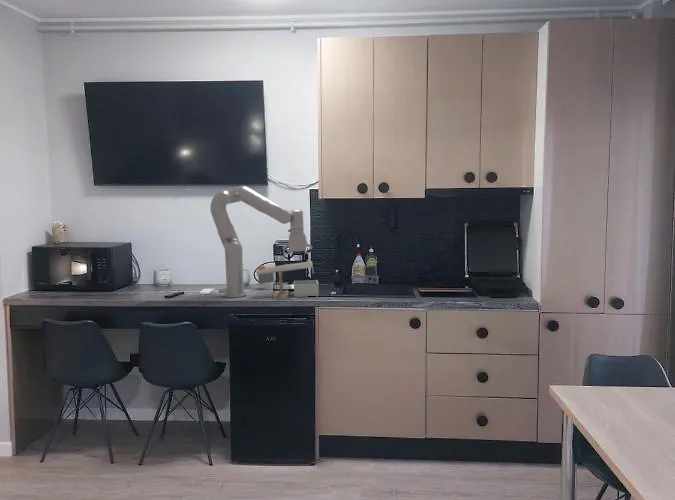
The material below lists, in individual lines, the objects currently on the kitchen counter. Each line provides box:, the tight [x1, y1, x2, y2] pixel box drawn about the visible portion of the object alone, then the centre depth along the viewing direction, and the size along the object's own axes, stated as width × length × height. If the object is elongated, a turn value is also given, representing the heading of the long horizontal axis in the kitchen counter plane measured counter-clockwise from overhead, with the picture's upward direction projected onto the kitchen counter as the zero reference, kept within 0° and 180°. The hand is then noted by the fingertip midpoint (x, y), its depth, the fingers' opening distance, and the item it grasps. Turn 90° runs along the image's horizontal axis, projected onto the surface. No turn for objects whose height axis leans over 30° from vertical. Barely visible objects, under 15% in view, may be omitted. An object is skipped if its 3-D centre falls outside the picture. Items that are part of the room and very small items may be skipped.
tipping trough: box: [255, 260, 315, 285], centre depth 343 cm, size 31×17×8 cm, turn 94°
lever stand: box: [273, 271, 289, 299], centre depth 339 cm, size 8×14×14 cm, turn 4°
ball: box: [257, 264, 266, 270], centre depth 337 cm, size 4×4×4 cm
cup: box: [293, 279, 320, 298], centre depth 340 cm, size 14×14×7 cm
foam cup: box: [262, 265, 277, 291], centre depth 363 cm, size 10×9×13 cm
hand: (298, 261), depth 348 cm, fingers open, 9 cm apart
